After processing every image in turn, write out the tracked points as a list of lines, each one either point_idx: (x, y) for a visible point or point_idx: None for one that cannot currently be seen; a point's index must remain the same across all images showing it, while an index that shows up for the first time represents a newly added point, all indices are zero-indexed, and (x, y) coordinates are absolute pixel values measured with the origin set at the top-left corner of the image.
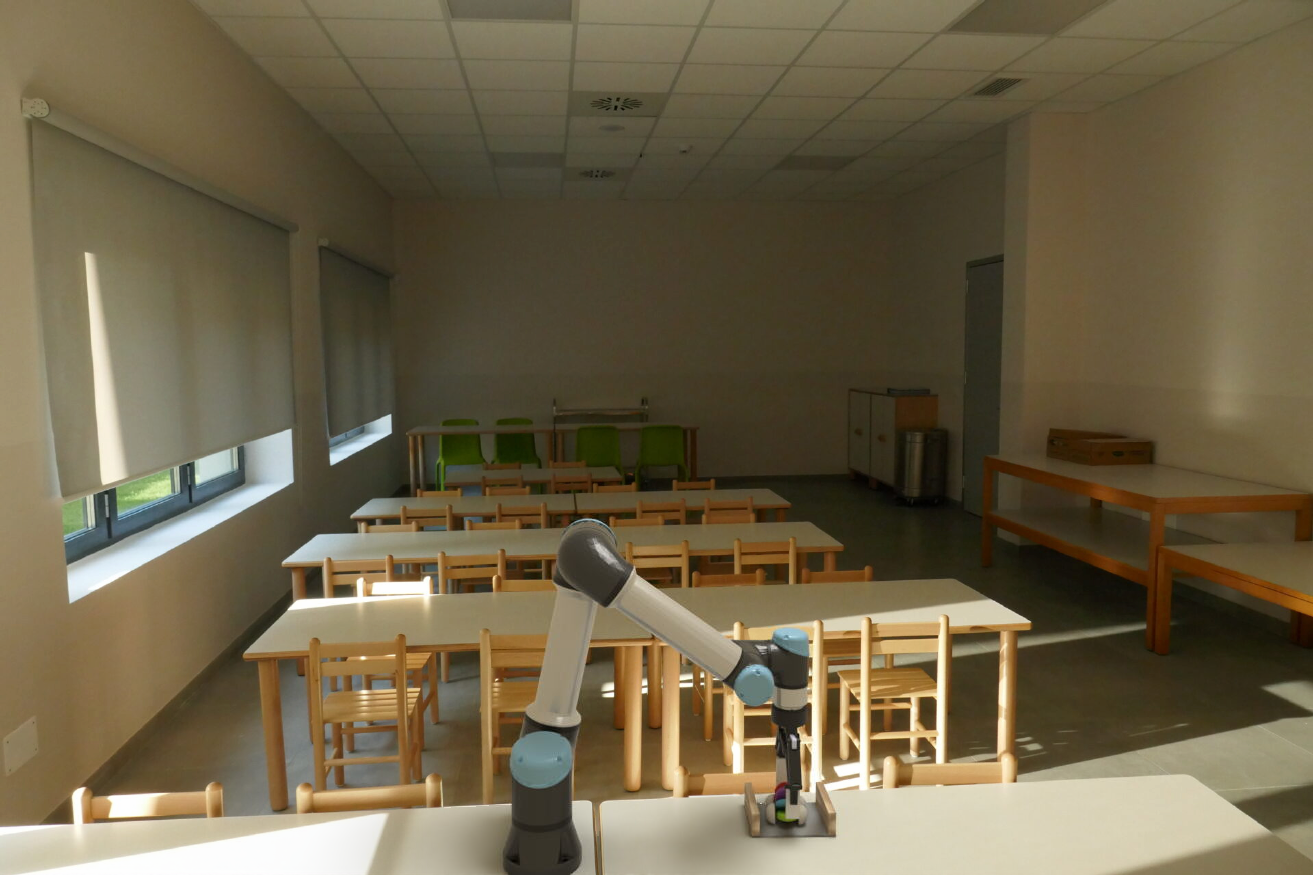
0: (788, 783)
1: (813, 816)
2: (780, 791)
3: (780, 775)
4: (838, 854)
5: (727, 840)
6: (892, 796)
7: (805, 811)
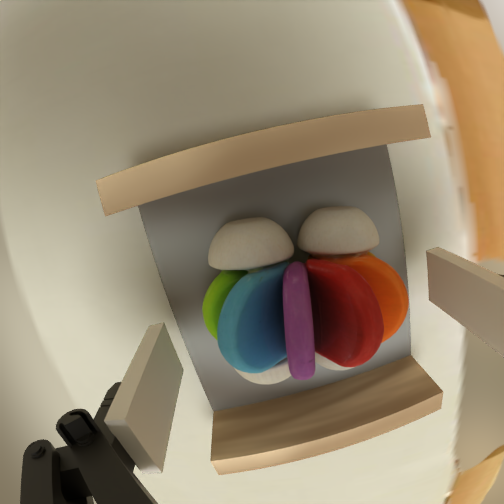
0: (72, 453)
1: (322, 366)
2: (285, 317)
3: (460, 285)
4: None
5: (98, 101)
6: (426, 467)
7: (254, 382)
